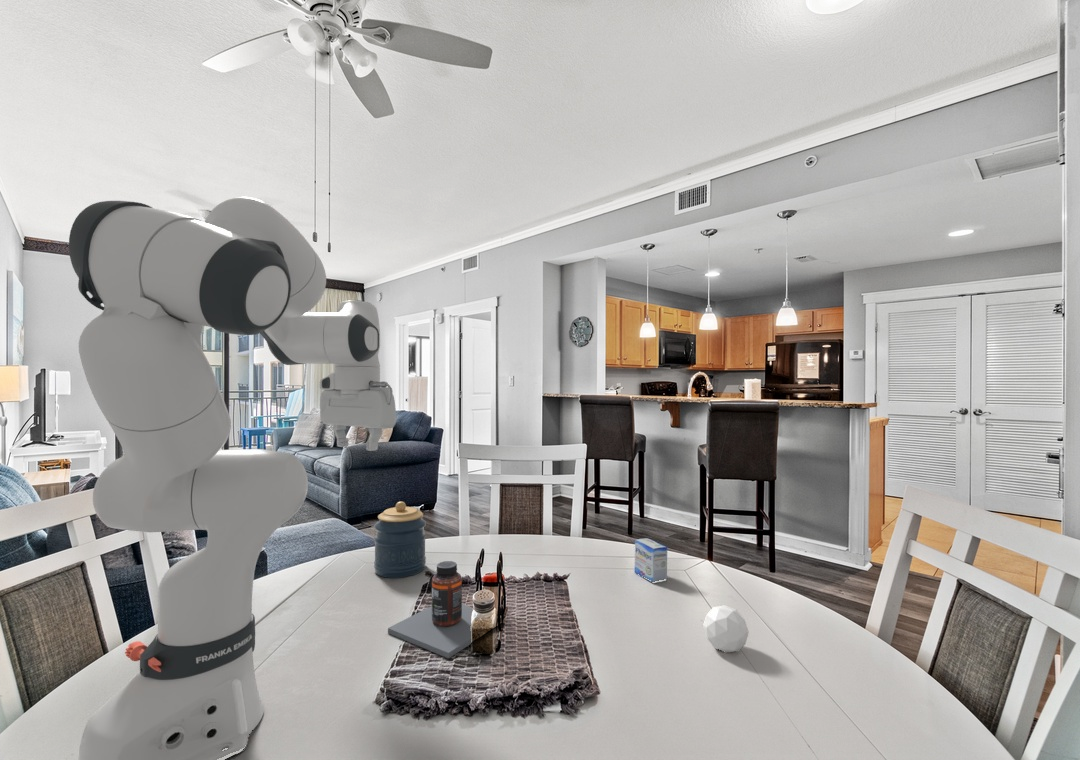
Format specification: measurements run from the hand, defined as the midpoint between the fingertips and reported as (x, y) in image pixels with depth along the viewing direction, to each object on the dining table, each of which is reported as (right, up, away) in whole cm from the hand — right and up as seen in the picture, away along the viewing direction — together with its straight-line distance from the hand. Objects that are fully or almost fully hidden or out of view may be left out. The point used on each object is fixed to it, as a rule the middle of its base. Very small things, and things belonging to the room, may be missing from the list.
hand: (356, 448), depth 103 cm
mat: (+19, -35, -3) cm, 40 cm away
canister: (+1, -36, +28) cm, 45 cm away
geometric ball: (+72, -36, -10) cm, 81 cm away
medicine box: (+66, -36, +24) cm, 78 cm away
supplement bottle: (+19, -34, -2) cm, 39 cm away
